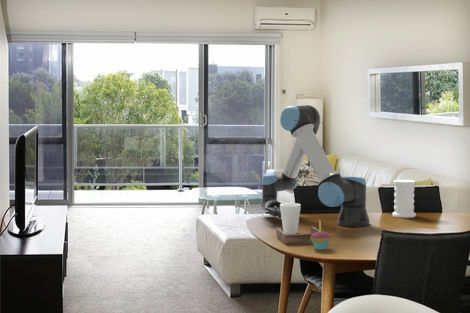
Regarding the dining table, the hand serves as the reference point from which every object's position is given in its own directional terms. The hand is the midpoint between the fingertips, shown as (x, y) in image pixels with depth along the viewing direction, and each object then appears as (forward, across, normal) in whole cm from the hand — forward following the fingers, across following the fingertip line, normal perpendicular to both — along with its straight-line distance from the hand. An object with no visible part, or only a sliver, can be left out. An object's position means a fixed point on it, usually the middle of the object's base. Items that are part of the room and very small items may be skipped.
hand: (286, 216), depth 345 cm
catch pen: (+23, 0, -6) cm, 24 cm away
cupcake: (+42, -4, -7) cm, 43 cm away
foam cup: (+7, 0, -7) cm, 10 cm away
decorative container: (-22, -68, -7) cm, 71 cm away
